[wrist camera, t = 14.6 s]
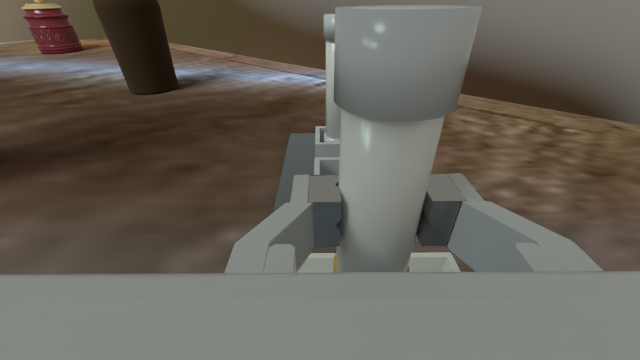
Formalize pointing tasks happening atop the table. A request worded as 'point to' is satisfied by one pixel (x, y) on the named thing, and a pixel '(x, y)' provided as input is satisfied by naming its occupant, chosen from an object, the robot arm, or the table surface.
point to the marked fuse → (392, 121)
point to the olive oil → (138, 43)
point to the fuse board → (307, 160)
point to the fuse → (331, 83)
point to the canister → (51, 28)
